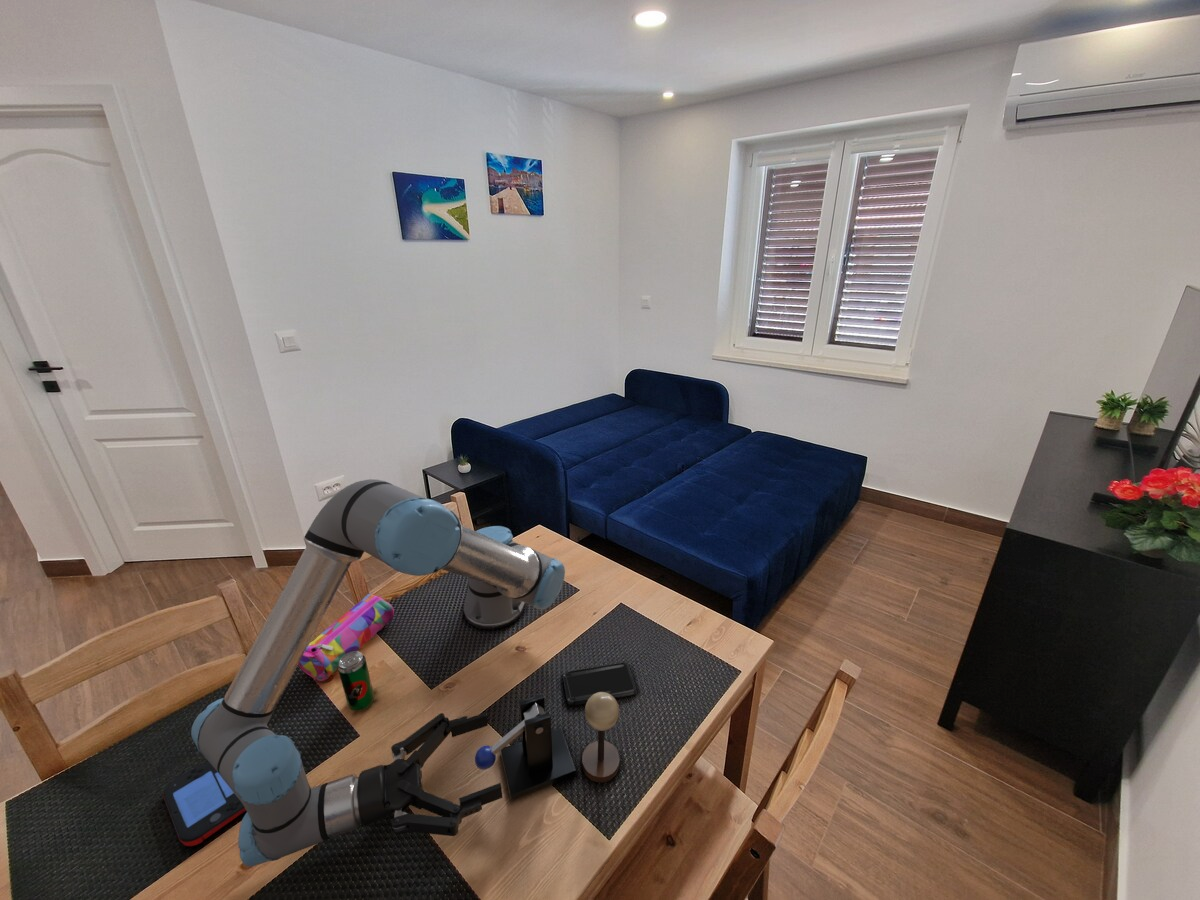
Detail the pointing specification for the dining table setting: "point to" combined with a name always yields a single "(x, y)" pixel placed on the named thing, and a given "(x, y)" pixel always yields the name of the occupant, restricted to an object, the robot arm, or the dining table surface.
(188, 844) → the game console
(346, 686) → the soda can
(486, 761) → the switch lever
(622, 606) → the dining table surface
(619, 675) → the phone
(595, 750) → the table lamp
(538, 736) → the switch bracket
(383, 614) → the pencil case
